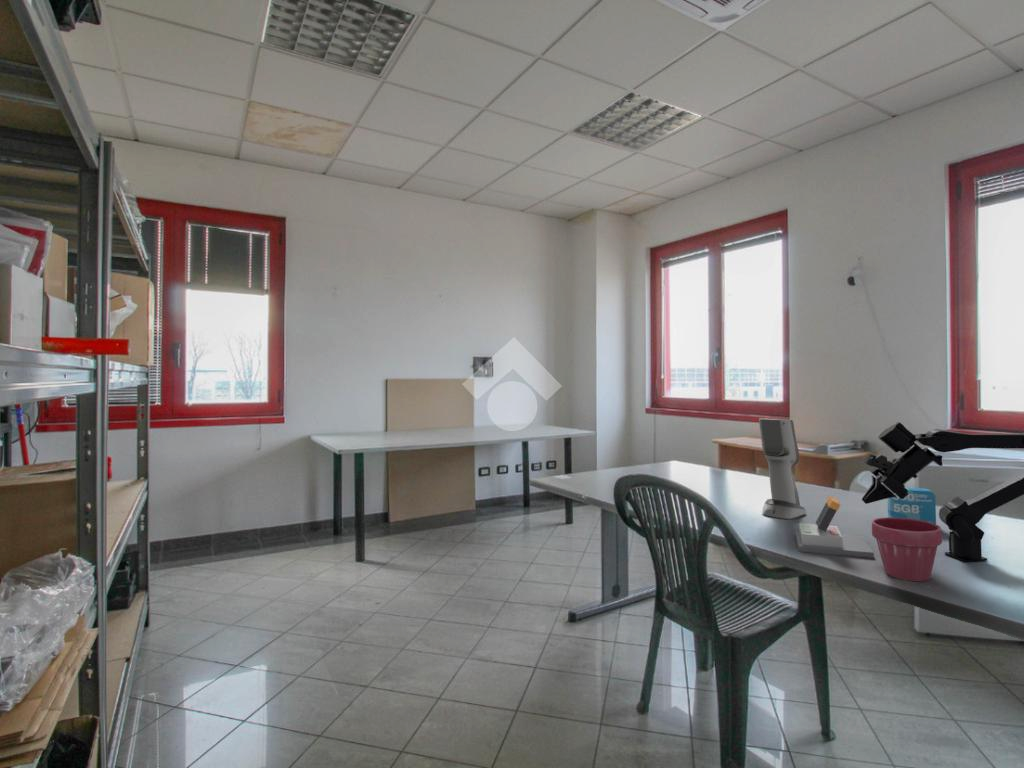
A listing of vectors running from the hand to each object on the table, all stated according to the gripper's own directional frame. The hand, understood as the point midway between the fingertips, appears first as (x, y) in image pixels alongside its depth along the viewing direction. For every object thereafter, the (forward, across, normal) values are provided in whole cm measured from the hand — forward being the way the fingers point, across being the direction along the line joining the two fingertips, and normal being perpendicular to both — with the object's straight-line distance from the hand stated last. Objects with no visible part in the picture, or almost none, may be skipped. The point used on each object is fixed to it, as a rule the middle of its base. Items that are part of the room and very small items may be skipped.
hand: (863, 501), depth 154 cm
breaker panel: (+15, 0, +4) cm, 16 cm away
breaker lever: (+14, 0, -2) cm, 14 cm away
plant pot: (+6, +19, +14) cm, 24 cm away
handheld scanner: (+24, -35, -4) cm, 43 cm away
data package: (-3, -31, +22) cm, 38 cm away
